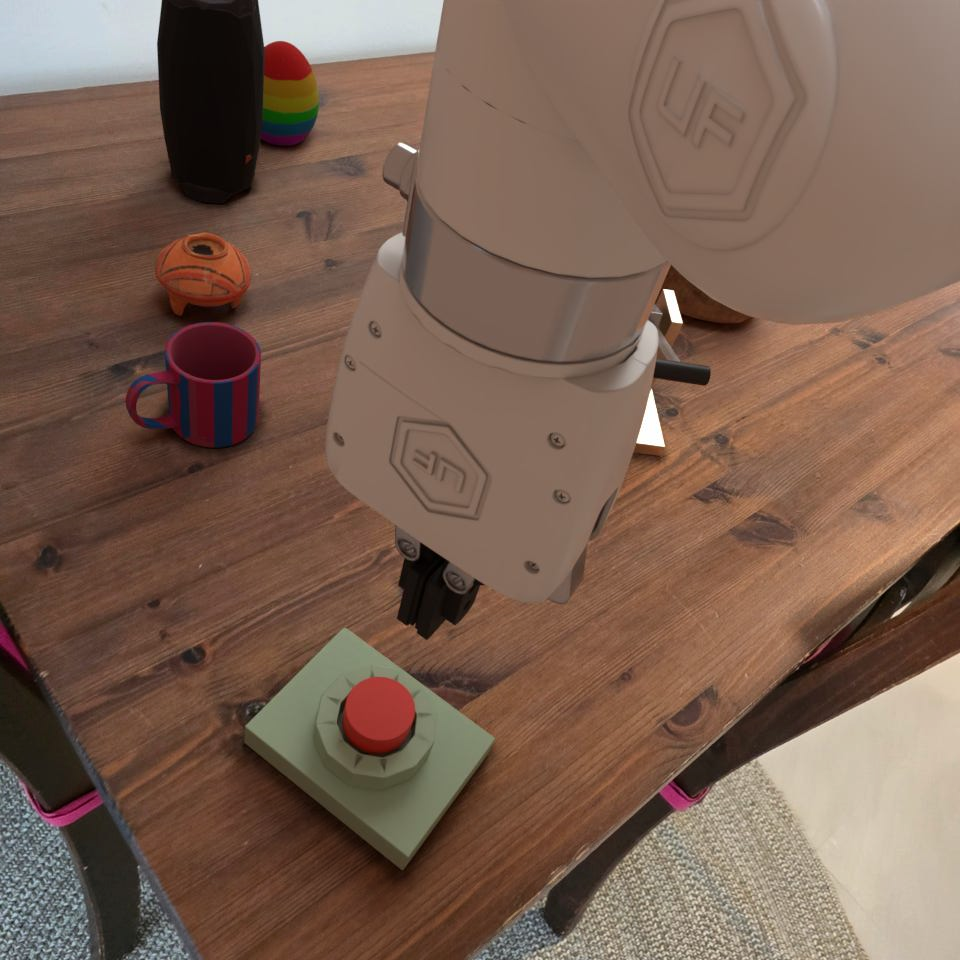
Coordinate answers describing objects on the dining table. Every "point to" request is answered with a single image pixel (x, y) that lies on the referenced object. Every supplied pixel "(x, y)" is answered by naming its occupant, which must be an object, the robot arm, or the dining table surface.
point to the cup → (206, 385)
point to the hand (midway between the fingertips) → (432, 608)
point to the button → (378, 715)
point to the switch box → (357, 774)
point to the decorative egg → (288, 95)
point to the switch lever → (675, 360)
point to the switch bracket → (651, 430)
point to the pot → (202, 272)
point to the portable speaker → (211, 94)
